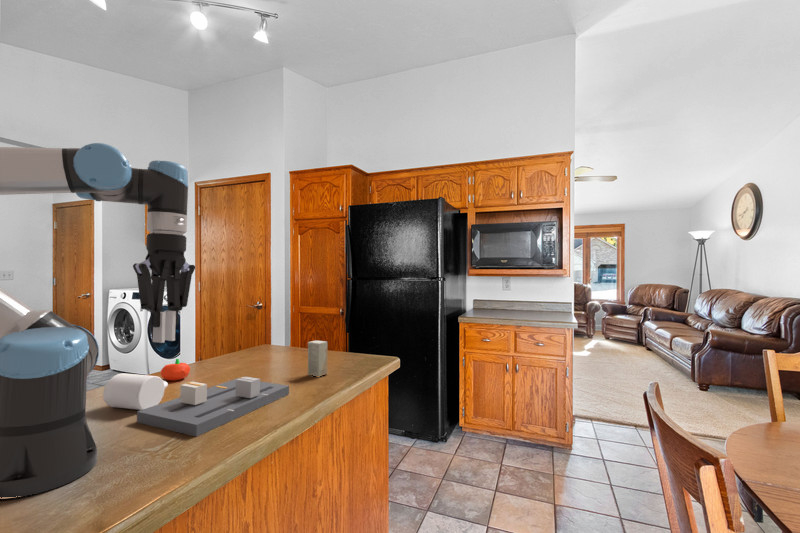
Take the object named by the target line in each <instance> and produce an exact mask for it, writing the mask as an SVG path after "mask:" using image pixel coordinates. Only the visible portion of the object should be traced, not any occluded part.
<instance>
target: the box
mask: <svg viewBox="0 0 800 533" xmlns="http://www.w3.org/2000/svg"><path fill="white" fill-rule="evenodd" d="M324 374H327V375H328V341H326V340H324V341H323V340H313V341H308V342H307V376H308V375H313V376H321V375H324ZM313 376H312V377H313Z"/></svg>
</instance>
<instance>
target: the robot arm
mask: <svg viewBox="0 0 800 533" xmlns="http://www.w3.org/2000/svg"><path fill="white" fill-rule="evenodd" d="M188 177H189V175H188V170H187V167H185V165H183V164H181V163H177V162H173V161H168V160H159V159H158V160H151V161H150V162H149V163H148V167H147V168H138V167H137V168H136V167H132V165H131V164H130V162H129V160H128V159H127V157H125V155H124V154H123V153H122V152H121V151H120V150H119V149H118V148H116V147H114V146H112V145H110V144H107V143H103V142H102V143H101V142H92V143H89V144H85V145H83V146H82V147H79V148H77V147H75V148H74V147H69V148H64V147H60V148H59V147H27V146H26V147H23V146H21V147H18V146H17V147H16V146H0V196H5V195H6V196H8V195H10V196H11V195H12V196H13V195H37V194H38V195H39V194H41V195H42V194H67V193H68V194H76V196H77V197H78V198H80V199H83V200H90V201H91V200H92V201H95V202H112V203H123V204H124V203H125V204H136V205H145V206H147V211H146V212H147V213H146V230H147V232H149V233H147V235H146V243H145V244H146V246H145V248H146V250H147V255H146V257H145V259H144V261H141V262H140V263H134V264H133V265H132V268H133V270H134V272H135V275H136V277H137V278H136V279H137V286H138V294H139V303H140V308H141V310H144V311H145V310H146V311H147V312H149V313H150V316H149V317H150V320H149V322H150V323H149V325H150V328H152V343H159V344H162V343H163V344H164V343H166V342H165V341H170V342H174V341H176V326H177V325H178V324H179V311H180V312H181V311H182V310H183V308H186V307H187V306H188V301H189V297H190V296H189V294H190V288H191V283H192V282H191V281H192V278H193V277H192V276H193V274H194V272H195V269H196V265H194V264H190V263H188V262H187V260H186V258H185V252H186V251H187V237H186V235H184V234H186V233H187V232H188V231H187V229H188V228H187V227H188V203H189V202H188V201H189V199H188V196H189V180H188V179H189V178H188ZM165 287H166V299H167V300H166V302H167V309H168V310H163V305H164V304H163V303H164V298H165V296H164V295H165ZM99 348H100V346H99V343H98V341H97V339H96V337H95V336H94V334H93V333H92V332H90V331H89V330H88V329H86V328H84V327H82V326H80V325H76V324H73V323H70V322H68V321H67V320H65V319H64V318H63V317H61V316H59V315H58V314H56V313H55V312H54V311H52V310H50V309H44V310H42V309H41V310H36V309H34V308H32V307H30V306H29V305H27V304H26V303H24V302H22V301H21V300H20V299H18V298H17V297H15V296H14V295H12V294H11V293H9V291H6V290H5V289H4V288H2V287H0V497H1V498H2V497H16V496H17V497H18V496H25V497H27V496H26V495H30V496H33V495H32V494H34V495H37V494H41V493H44V492H47V491H50V490H54V489H56V488H59V487H61V486H64V485H67V484H69V483H71V482H73V481H75V480H77V479H79V478H81V477H82V476H84V475H85V474H87V473H88V472H90V471H91V470H92V469H93V468H94V467H95V466H96V464H97V461H98V458H97V457H98V447H97V444H96V442H95V440H94V439H95V438H94V437H93V435H92V433H91V429H90V427H89V425H88V422H87V419H86V414H87V413H86V409H87V408H86V406H87V384H88V383H87V381H88V376H89V374H91V372H92V371H93V370H94V369H95V368H96V365H97V362H98V361H99V358H100V357H99V354H100V350H99Z"/></svg>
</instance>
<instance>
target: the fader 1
mask: <svg viewBox="0 0 800 533" xmlns="http://www.w3.org/2000/svg"><path fill="white" fill-rule="evenodd" d="M207 388H208V384H207V383H203V382H202V383H201V382H197V381H190V382H186V383H183V384H180V391H179V393H180V394H179V396H180V402H182V403H187V404H192V405H197V404H200V403H202V402H205V401H207Z"/></svg>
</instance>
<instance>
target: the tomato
mask: <svg viewBox="0 0 800 533" xmlns="http://www.w3.org/2000/svg"><path fill="white" fill-rule="evenodd" d="M190 371H191V367H190V365H189V364H188V363H186V362H180V359H179V358H176V359H175V363H169V364H165V365H164V366H163V367H162V368H161V369H160V376H161V377H162V379H164V380H165V381H166V380H167V381H173V382H174V381H175V382H176V381H180V380H182V379H185V378H186V377H188V375H189V374H190V373H191V372H190Z"/></svg>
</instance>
